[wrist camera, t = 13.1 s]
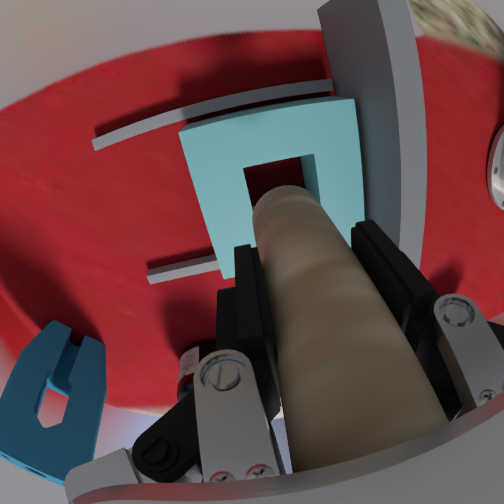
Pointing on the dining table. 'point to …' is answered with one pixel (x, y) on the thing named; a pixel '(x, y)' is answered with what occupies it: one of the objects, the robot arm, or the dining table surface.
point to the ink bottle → (192, 365)
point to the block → (31, 396)
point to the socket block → (268, 150)
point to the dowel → (335, 341)
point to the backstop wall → (367, 111)
